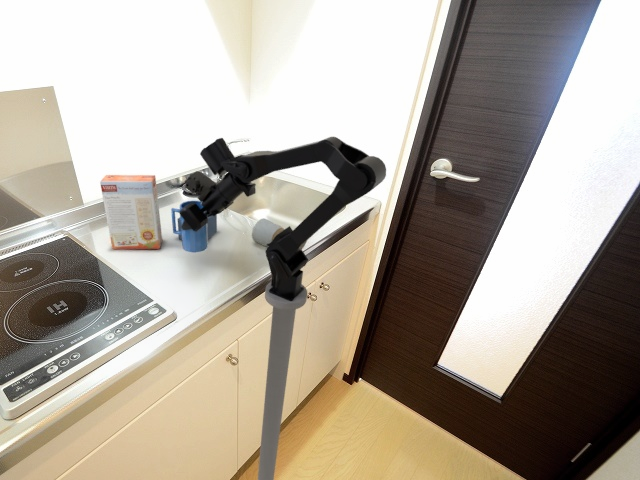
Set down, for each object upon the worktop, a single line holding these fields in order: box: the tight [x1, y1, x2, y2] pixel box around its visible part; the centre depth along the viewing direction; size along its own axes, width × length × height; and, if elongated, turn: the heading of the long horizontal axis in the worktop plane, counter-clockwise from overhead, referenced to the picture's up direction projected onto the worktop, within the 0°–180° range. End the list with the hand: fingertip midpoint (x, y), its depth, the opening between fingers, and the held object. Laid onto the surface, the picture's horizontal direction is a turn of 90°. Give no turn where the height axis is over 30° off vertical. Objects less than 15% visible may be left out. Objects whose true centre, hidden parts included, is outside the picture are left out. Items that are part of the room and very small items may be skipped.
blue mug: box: [170, 200, 209, 254], centre depth 97 cm, size 10×7×12 cm, turn 65°
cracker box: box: [99, 174, 163, 250], centre depth 105 cm, size 14×6×21 cm, turn 92°
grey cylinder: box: [251, 217, 285, 248], centre depth 111 cm, size 11×8×8 cm
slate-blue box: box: [177, 214, 218, 241], centre depth 112 cm, size 15×8×7 cm, turn 154°
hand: (189, 223), depth 97 cm, fingers closed on blue mug, 7 cm apart
